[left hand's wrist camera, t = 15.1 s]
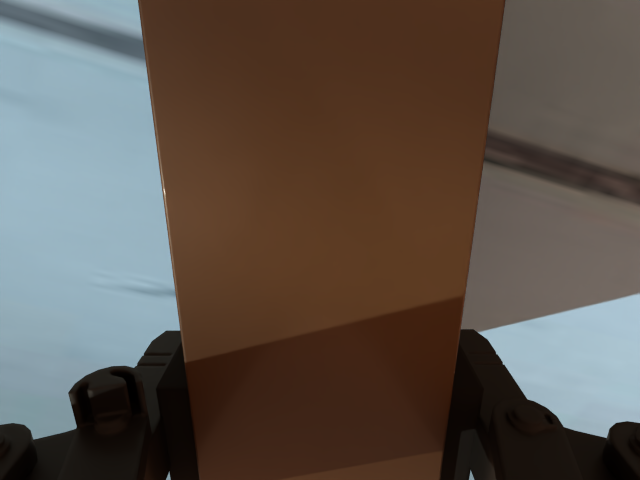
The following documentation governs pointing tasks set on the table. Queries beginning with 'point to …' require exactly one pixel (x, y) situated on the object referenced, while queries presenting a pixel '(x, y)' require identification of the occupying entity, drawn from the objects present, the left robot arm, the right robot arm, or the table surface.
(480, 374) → the left robot arm
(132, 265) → the table surface
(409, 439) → the bar
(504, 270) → the table surface
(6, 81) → the table surface
